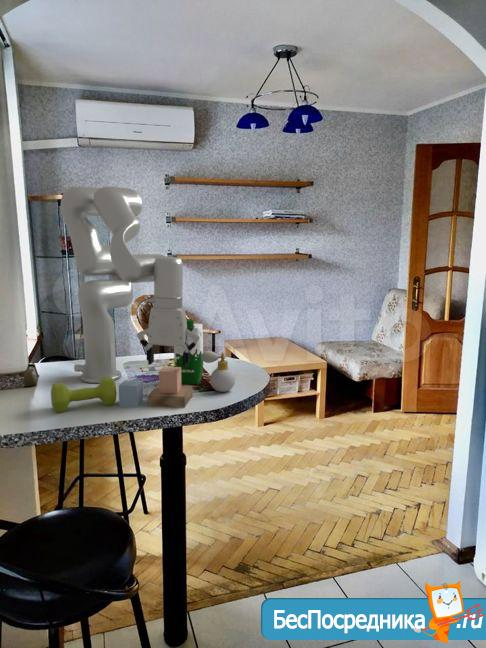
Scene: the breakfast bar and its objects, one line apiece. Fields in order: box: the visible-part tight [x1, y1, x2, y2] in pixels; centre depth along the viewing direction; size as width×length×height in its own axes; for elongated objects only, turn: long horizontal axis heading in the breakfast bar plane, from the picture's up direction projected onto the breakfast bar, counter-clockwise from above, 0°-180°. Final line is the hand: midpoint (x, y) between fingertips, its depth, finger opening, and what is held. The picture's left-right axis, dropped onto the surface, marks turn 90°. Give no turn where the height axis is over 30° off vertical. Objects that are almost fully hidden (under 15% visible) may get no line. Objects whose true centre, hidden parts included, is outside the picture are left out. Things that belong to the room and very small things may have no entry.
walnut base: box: [147, 383, 193, 408], centre depth 132 cm, size 10×10×3 cm
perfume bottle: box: [201, 350, 236, 393], centre depth 140 cm, size 8×10×12 cm
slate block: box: [118, 379, 144, 408], centre depth 129 cm, size 5×5×6 cm
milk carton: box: [173, 318, 204, 385], centre depth 149 cm, size 9×9×20 cm
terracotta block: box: [158, 366, 182, 393], centre depth 131 cm, size 5×5×6 cm
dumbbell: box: [50, 377, 117, 414], centre depth 127 cm, size 16×8×7 cm, turn 115°
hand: (168, 364), depth 131 cm, fingers open, 9 cm apart
